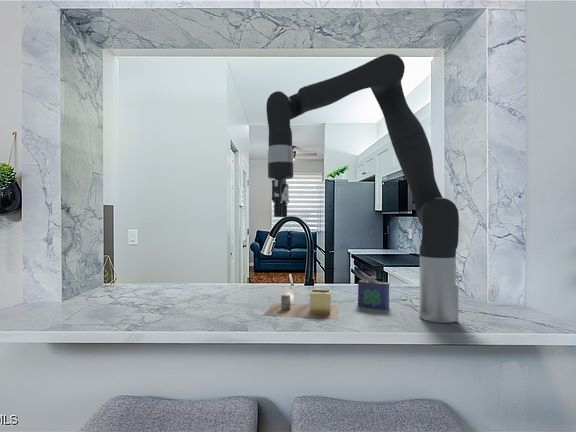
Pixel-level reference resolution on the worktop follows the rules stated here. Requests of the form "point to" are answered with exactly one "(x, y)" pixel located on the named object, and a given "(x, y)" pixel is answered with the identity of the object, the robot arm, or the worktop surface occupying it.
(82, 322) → the worktop surface
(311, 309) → the cap
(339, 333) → the worktop surface
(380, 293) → the clover print carton
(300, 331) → the worktop surface
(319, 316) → the bolt base
